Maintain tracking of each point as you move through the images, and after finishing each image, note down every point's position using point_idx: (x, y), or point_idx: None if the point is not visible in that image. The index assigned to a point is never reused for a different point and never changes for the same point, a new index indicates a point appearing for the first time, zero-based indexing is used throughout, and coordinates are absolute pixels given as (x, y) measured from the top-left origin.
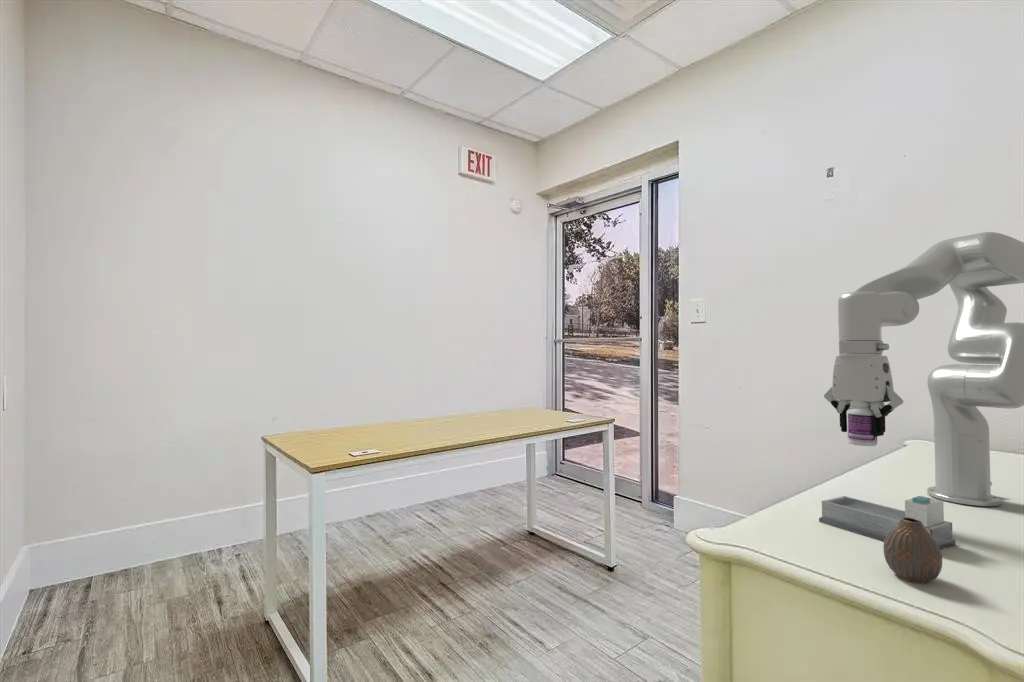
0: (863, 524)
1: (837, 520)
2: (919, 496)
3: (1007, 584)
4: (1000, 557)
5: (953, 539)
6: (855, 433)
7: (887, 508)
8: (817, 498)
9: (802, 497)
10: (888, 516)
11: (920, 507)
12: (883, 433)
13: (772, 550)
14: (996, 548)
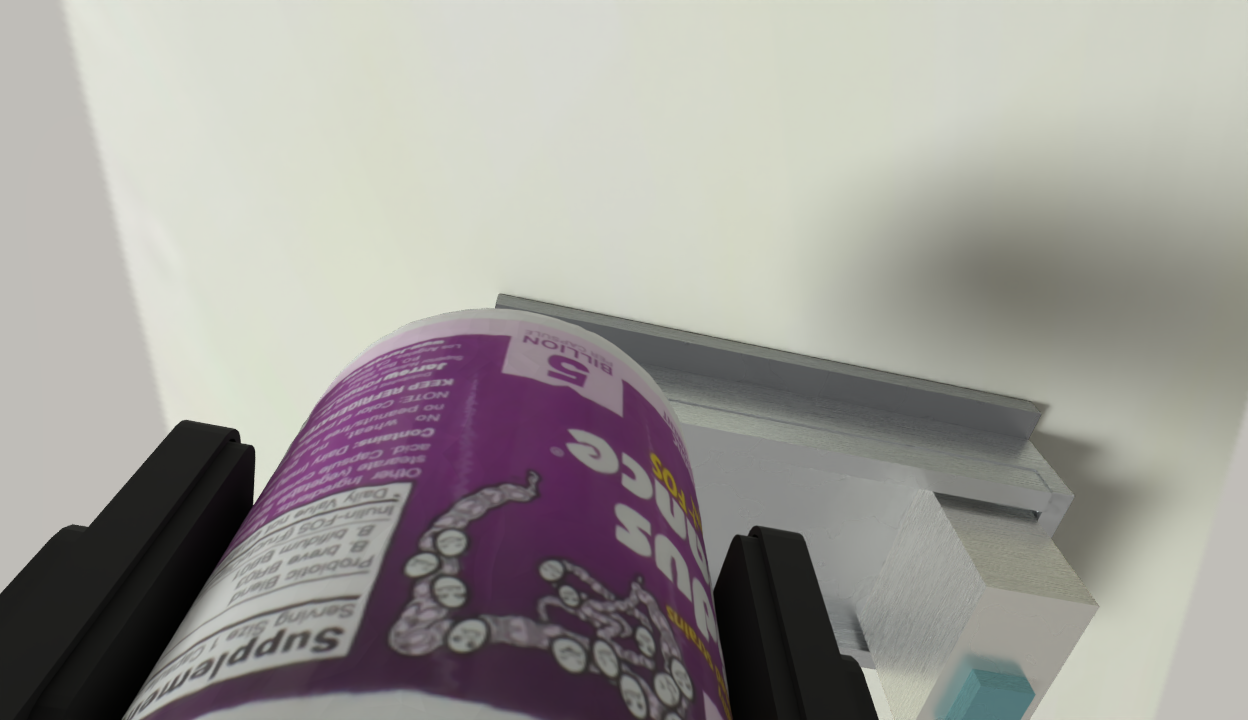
0: None
1: None
2: (982, 694)
3: (1140, 699)
4: (1188, 437)
5: (1034, 416)
6: None
7: (756, 456)
8: (180, 27)
9: (103, 99)
10: (763, 483)
11: None
12: (801, 554)
13: None
14: (1204, 310)
